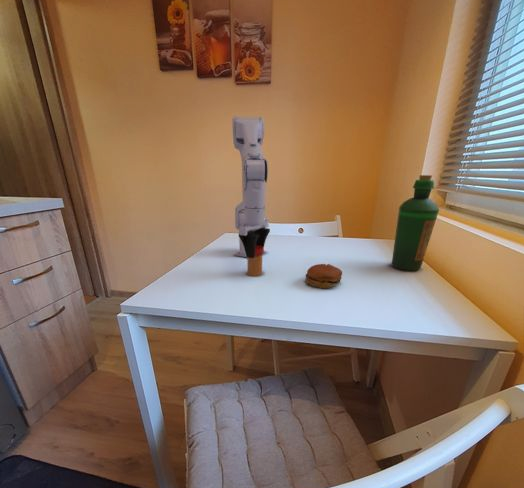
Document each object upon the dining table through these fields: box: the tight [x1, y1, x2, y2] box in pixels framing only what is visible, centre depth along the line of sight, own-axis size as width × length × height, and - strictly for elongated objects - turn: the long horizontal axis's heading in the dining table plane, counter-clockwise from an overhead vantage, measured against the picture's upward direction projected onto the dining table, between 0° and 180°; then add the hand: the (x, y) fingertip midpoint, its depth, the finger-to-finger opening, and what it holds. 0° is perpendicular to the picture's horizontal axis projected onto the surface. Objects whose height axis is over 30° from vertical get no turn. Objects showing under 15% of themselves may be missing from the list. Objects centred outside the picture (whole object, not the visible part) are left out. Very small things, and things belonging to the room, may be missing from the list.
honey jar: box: [246, 255, 263, 277], centre depth 82 cm, size 4×4×8 cm
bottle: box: [391, 174, 440, 272], centre depth 85 cm, size 11×11×28 cm
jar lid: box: [255, 245, 265, 256], centre depth 81 cm, size 5×5×2 cm
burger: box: [305, 263, 343, 289], centre depth 77 cm, size 10×9×5 cm
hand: (254, 255), depth 82 cm, fingers closed on jar lid, 5 cm apart
